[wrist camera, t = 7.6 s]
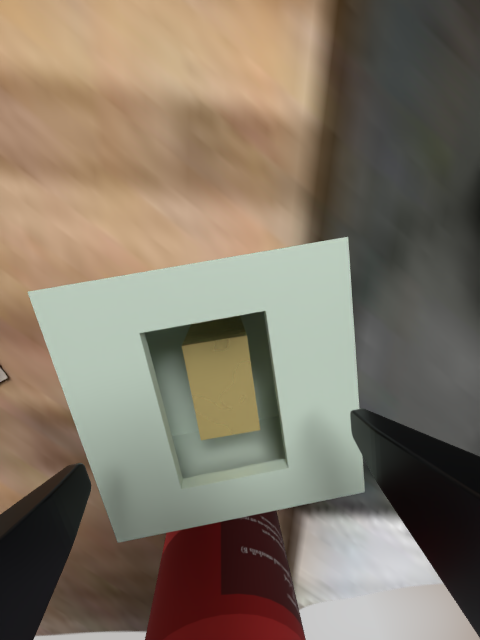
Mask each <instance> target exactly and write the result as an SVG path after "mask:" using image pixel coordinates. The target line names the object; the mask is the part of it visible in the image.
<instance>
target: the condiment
mask: <svg viewBox="0 0 480 640" xmlns="http://www.w3.org/2000/svg"><path fill="white" fill-rule="evenodd" d="M6 378H8V377H7V376H6V374H5V373H4V372H3V370H2V369H1V368H0V382H1V381H3V380H5V379H6Z"/></svg>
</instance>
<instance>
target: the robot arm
mask: <svg viewBox="0 0 480 640" xmlns="http://www.w3.org/2000/svg"><path fill="white" fill-rule="evenodd" d="M350 420H351V432H352V436H353V439H354V441H355V442H356V444H357V446H358V448H359V450H360V452H361V454H362V456H363V457H364V459H365V461H366V463H367V465H368V467H369V469H370V471H371V473H372V474H373V476H374V478H375V480H376V482H377V483H378V485H379V487H380V488H381V490H382V491H383V493H384V494H385V496H386V497H387V499H388V500H389V502H390V503H391V505H392V506H393V508H394V509H395V511H396V512H397V514H398V515H399V517H400V518H401V520H402V521H403V523H404V524H405V526H406V527H407V529H408V530H409V532H410V533H411V535H412V536H413V538H414V539H415V541H416V542H417V544H418V545H419V547H420V548H421V550H422V551H423V553H424V554H425V556H426V557H427V559H428V560H429V562H430V563H431V565H432V566H433V568H434V569H435V571H436V572H437V574H438V576H439V577H440V579H441V580H442V582H443V583H444V585H445V586H446V587H447V589H448V591H449V592H450V593H451V595H452V597H453V598H454V600H455V601H456V603H457V604H458V605H459V607H460V609H461V610H462V612H463V613H464V615H465V616H466V618H467V619H468V621H469V622H470V624H471V625H472V627H473V628H474V630H475V631H476V632H477V634H478V636H479V637H480V457H479V456H477V455H475V454H472V453H470V452H467V451H465V450H462V449H460V448H458V447H455V446H453V445H450V444H448V443H446V442H443V441H441V440H438V439H436V438H433V437H431V436H429V435H426V434H424V433H421V432H419V431H417V430H414V429H412V428H409V427H407V426H404V425H402V424H400V423H397V422H395V421H392V420H390V419H387V418H385V417H383V416H380V415H378V414H375V413H373V412H371V411H368V410H366V409H363V408H361V409H356V410H352V411H351V412H350ZM90 491H91V482H90V479H89V476H88V474H87V471H86V468H85V466H84V464H82V463H78V464H72V465H69V466H67V467H65V468H64V469H63V470H61V471H60V472H59V473H57V474H56V475H54V476H53V477H52V478H50V479H49V480H47V481H46V482H45V483H43V484H42V485H41V486H39V487H38V488H36V489H35V490H34V491H32V492H31V493H30V494H28V495H27V496H25V497H24V498H23V499H21V500H20V501H19V502H17V503H16V504H14V505H13V506H12V507H10V508H9V509H7V510H6V511H5V512H3V513H2V514H1V515H0V640H33V639H34V637H35V635H36V632H37V630H38V627H39V625H40V623H41V620H42V618H43V615H44V613H45V611H46V608H47V606H48V604H49V601H50V599H51V596H52V594H53V592H54V589H55V587H56V584H57V582H58V580H59V577H60V575H61V573H62V570H63V568H64V565H65V563H66V561H67V558H68V556H69V553H70V551H71V548H72V546H73V543H74V540H75V537H76V535H77V532H78V528H79V525H80V522H81V519H82V516H83V513H84V510H85V507H86V504H87V501H88V498H89V495H90Z"/></svg>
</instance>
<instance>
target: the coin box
mask: <svg viewBox="0 0 480 640" xmlns="http://www.w3.org/2000/svg"><path fill="white" fill-rule="evenodd" d="M28 294H29V297H30V300H31V303H32V306H33V308H34V311H35V314H36V317H37V320H38V322H39V325H40V328H41V331H42V333H43V336H44V339H45V342H46V345H47V347H48V350H49V353H50V356H51V358H52V361H53V364H54V367H55V370H56V372H57V375H58V378H59V381H60V383H61V386H62V389H63V392H64V395H65V397H66V400H67V403H68V406H69V408H70V411H71V414H72V417H73V420H74V422H75V425H76V428H77V431H78V433H79V436H80V439H81V442H82V445H83V447H84V450H85V453H86V456H87V458H88V461H89V464H90V467H91V470H92V472H93V475H94V478H95V481H96V484H97V486H98V489H99V492H100V495H101V497H102V500H103V503H104V506H105V509H106V511H107V514H108V517H109V520H110V522H111V525H112V528H113V531H114V534H115V536H116V539H117V542H118V543H119V542H124V541H129V540H134V539H139V538H144V537H148V536H153V535H158V534H163V533H168V532H173V531H178V530H183V529H187V528H192V527H197V526H202V525H207V524H212V523H217V522H222V521H226V520H231V519H236V518H241V517H246V516H251V515H256V514H261V513H265V512H270V511H275V510H280V509H285V508H290V507H295V506H299V505H304V504H309V503H314V502H319V501H324V500H329V499H334V498H338V497H343V496H348V495H353V494H358V493H363V492H365V489H364V473H363V458H362V454H361V452H360V450H359V448H358V446H357V444H356V442H355V441H354V439H353V436H352V432H351V420H350V412H351V411H352V410H356V409H359V397H358V382H357V367H356V352H355V336H354V321H353V306H352V291H351V276H350V260H349V245H348V237H345V238H339V239H333V240H327V241H322V242H316V243H310V244H304V245H298V246H292V247H287V248H281V249H275V250H269V251H263V252H257V253H252V254H246V255H240V256H234V257H228V258H222V259H217V260H211V261H205V262H199V263H193V264H187V265H182V266H176V267H170V268H164V269H158V270H152V271H146V272H141V273H135V274H129V275H123V276H117V277H111V278H106V279H100V280H94V281H88V282H82V283H76V284H71V285H65V286H59V287H53V288H47V289H41V290H36V291H30V292H28ZM239 315H240V317H241V320H242V323H243V326H244V328H245V331H246V334H247V339H248V346H249V353H250V360H251V367H252V375H253V382H254V389H255V396H256V403H257V410H258V417H259V424H260V430H259V431H253V432H247V433H241V434H235V435H230V436H224V437H218V438H212V439H206V440H201V438H200V434H199V429H198V424H197V419H196V414H195V409H194V404H193V399H192V394H191V390H190V385H189V380H188V375H187V370H186V365H185V360H184V355H183V350H182V344H183V342H184V339H185V337H186V335H187V333H188V330H189V328H190V326H191V324H194V323H200V322H205V321H211V320H216V319H222V318H228V317H233V316H239Z"/></svg>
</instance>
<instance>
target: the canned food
mask: <svg viewBox="0 0 480 640" xmlns="http://www.w3.org/2000/svg"><path fill="white" fill-rule="evenodd" d="M145 640H306V639H305V635H304V630H303V626H302V622H301V617H300V613H299V609H298V604H297V600H296V595H295V591H294V587H293V582H292V578H291V573H290V569H289V565H288V560H287V556H286V552H285V547H284V543H283V538H282V534H281V530H280V525H279V521H278V516H277V512H276V510H275V511H270V512H265V513H261V514H256V515H251V516H246V517H241V518H236V519H231V520H226V521H222V522H217V523H212V524H207V525H202V526H197V527H192V528H187V529H183V530H178V531H173V532H168V533H166V538H165V543H164V548H163V553H162V558H161V563H160V568H159V573H158V578H157V583H156V588H155V593H154V598H153V603H152V608H151V613H150V618H149V622H148V627H147V632H146V637H145Z"/></svg>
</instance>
